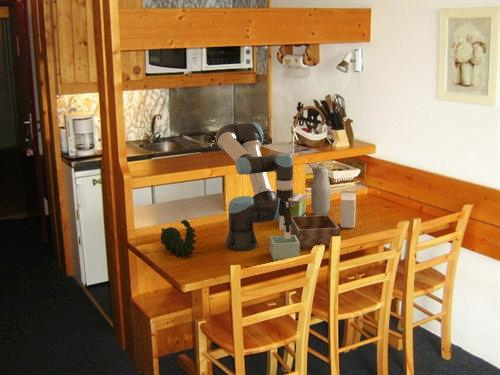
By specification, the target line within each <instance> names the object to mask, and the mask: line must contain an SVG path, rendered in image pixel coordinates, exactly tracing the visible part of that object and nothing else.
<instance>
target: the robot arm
mask: <svg viewBox="0 0 500 375" xmlns="http://www.w3.org/2000/svg"><path fill="white" fill-rule="evenodd" d="M215 142H216V146H217V147H219V149H221V150H222V151H225V153H226V154H228V156H229V157H230V158H232V160H233V161H234V162H235V170H236V173H238V175H243V176H244V175H248V176H249V179H250V183H251V186H252V187H251V188H252V190H253V196H249V195H240V196H237V197H234V198H232V199H231V200H230V201H229V202H228V209H227V211H228V232H227V236H226V239H225V247H226V248H227V249H229V250H232V251H241V252H243V251H250V250H253V249H256V248H257V247H258V239H257V237H256V233H255V231H254V224H263V223H270V222H271V223H273V222H276V221H279V225H278V229H279V231H282V230H283V232H284V233H283V235H284V239H291V224H292V223H291V212H290V202H289V200H288V199H289V198H292V197H293V193H294V189H293V187H294V183H295V180H294V158H293V155H292V153H285V152H284V153H278V154H276V153H269V154H267V155H262V152H261V148H262V144H263V142H264V133H263V128H262V127H261V125H260V124H259V123H258V122H255V121H254V122H250V121H248V122H238V123H228V124H227V123H226V124H224V125H223V126H221V127H220V128H219V129H218V130H217V132H216V135H215ZM272 172H273V173H275V186H276V187H275V188H276V189H275V190H273V189H272V187H271V183H270V179H269V176H268V173H272Z"/></svg>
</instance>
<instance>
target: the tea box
mask: <svg viewBox="0 0 500 375" xmlns="http://www.w3.org/2000/svg"><path fill="white" fill-rule="evenodd" d="M288 200H289V202H290V212H291V217H293V216H307V214H306V213H307V194H304V193H297V192H296V193H294V192H293V197H292V198H289V199H288Z"/></svg>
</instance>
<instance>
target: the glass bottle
mask: <svg viewBox="0 0 500 375" xmlns="http://www.w3.org/2000/svg"><path fill="white" fill-rule="evenodd" d="M329 179H330V178H329V170H328V168H327V166H325V165H317V166H316V167H314V170H313V179H312V182H311V187H310V197H311V198H310V207H311V211H312V213H313V214H314V215H328V213H329V212H330V209H331V208H330V207H331V193H332V192H331V191H332V190H331V183H330V180H329Z"/></svg>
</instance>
